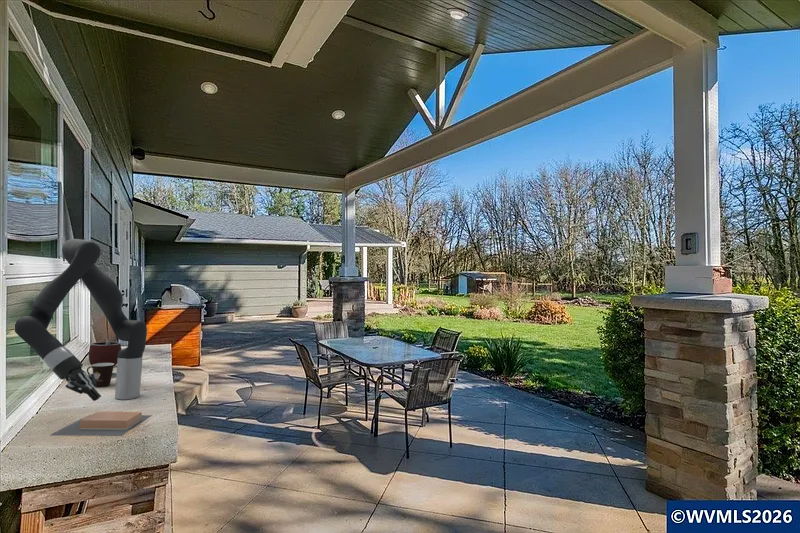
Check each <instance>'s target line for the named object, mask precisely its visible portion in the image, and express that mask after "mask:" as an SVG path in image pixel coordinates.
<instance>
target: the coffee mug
mask: <svg viewBox="0 0 800 533" xmlns="http://www.w3.org/2000/svg"><path fill="white" fill-rule="evenodd" d="M114 367H115V366H114V363H98V364H93V365H90V366H88V367H87V368H86V373H87V374H88V375H90V374H91V373H90V372H89V370H90V368H91V369H92V374H94V377H95V380H96V384H97V385H96V386H95V388H108V387H110V386H111V382H112V378H111V377H112V373H114Z"/></svg>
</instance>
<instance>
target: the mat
mask: <svg viewBox="0 0 800 533" xmlns="http://www.w3.org/2000/svg"><path fill="white" fill-rule="evenodd" d="M90 415H91V414H89V415H86V416H84V417H83V418H81V419H79V420H76V421H75V422H73V423H70V424H69V425H67V426H64V427H63V428H61V429H59V430H57V431H55V432H53V433H51V434H49V436H76V437H77V436H78V437H80V436H81V437H82V436H85V437H86V436H88V437H89V436H90V437H91V436H93V437H94V436H97V437H100V436H101V437H107V436H108V437H122V436H123V435H125V434H127V433H128V432H130V431H132V430H133V429H134V428H136V427H138V426H139V425H140V424H142V423H143V422H145V421H146V420H148V419H149V418H151V417H153V415H145V414H143V415H141V421H139V422H138V423H136V424H135V425H133V426H132V427H130V428H129V429H127V430H119V429H80V420H82V419H84V418H86V417H88V416H90Z"/></svg>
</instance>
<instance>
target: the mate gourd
mask: <svg viewBox="0 0 800 533" xmlns="http://www.w3.org/2000/svg"><path fill="white" fill-rule="evenodd" d="M120 350H122V344H121V342H119V341H112V340H111V339H108V340H107V341H96V342H92V343H90V346H89V351H88V361H89V364H90V366H92V365H93V364H98V363H114V367H117V362H118V352H119V351H120ZM116 376H117V372H116V373H114V372H112V377H111V379H113V378H116Z"/></svg>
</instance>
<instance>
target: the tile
mask: <svg viewBox="0 0 800 533" xmlns="http://www.w3.org/2000/svg"><path fill="white" fill-rule="evenodd" d="M142 414H143V413H142V411H98V410H97V411H96V412H93V413H92V414H89V415H90V416H88V415H87V416H88V417H86V416H85V417H86V418H84V417H83V418H84V419H82V418H81V419H82V420H80V419H79V420H80V429H119V430H127V429H129V428H130V427H132V426H133V425H135V424H136V423H138V422H139V421H141V415H142Z"/></svg>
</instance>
